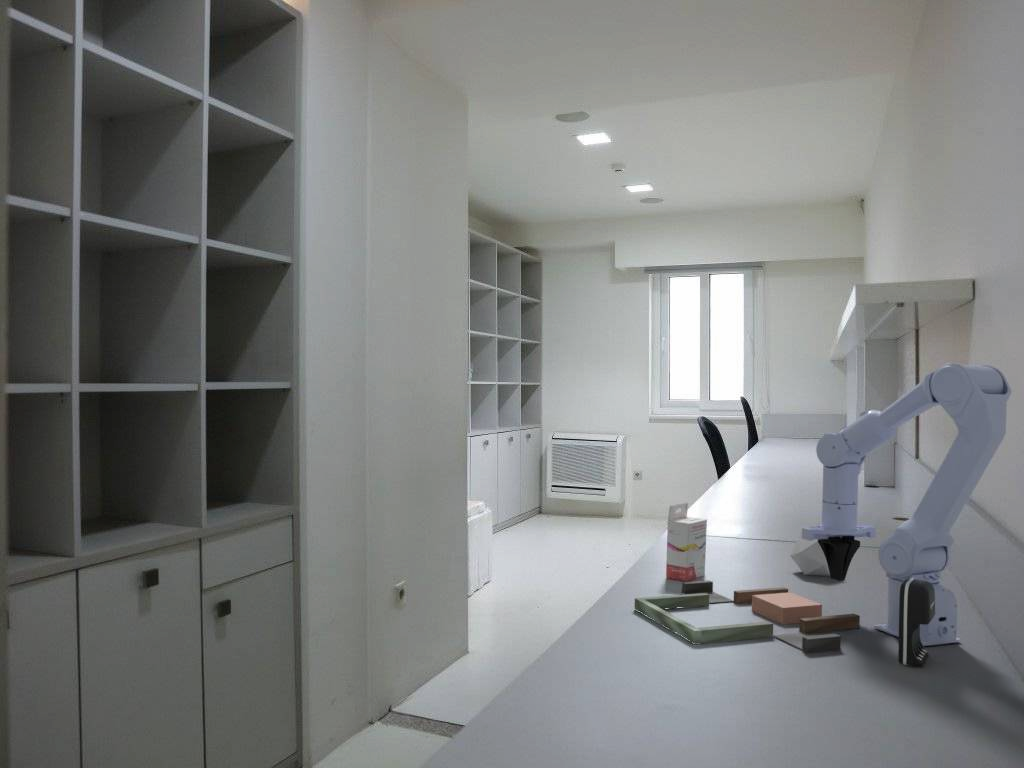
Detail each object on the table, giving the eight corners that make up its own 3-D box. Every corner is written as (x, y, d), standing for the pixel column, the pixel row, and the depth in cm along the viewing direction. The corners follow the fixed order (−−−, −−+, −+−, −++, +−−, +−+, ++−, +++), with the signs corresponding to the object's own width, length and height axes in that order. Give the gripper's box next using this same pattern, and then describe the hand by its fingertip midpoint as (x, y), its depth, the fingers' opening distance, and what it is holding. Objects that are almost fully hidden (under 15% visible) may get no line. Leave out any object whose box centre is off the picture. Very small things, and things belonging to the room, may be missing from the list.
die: (832, 584, 155) (852, 543, 158) (793, 560, 157) (813, 519, 160) (816, 589, 163) (835, 549, 166) (778, 566, 164) (798, 527, 168)
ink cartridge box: (687, 582, 150) (689, 508, 151) (665, 578, 154) (666, 505, 154) (706, 575, 157) (708, 504, 157) (684, 571, 160) (686, 501, 160)
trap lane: (897, 643, 116) (898, 630, 116) (725, 662, 106) (725, 647, 106) (757, 587, 148) (757, 577, 148) (613, 597, 138) (614, 586, 138)
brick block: (821, 622, 127) (822, 604, 127) (782, 626, 125) (783, 607, 125) (789, 609, 135) (789, 592, 135) (751, 612, 132) (752, 595, 132)
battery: (927, 671, 104) (929, 588, 104) (897, 665, 106) (899, 583, 106) (935, 658, 110) (937, 579, 110) (906, 652, 112) (908, 574, 112)
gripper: (855, 498, 140) (853, 571, 140) (790, 499, 135) (788, 576, 135) (885, 503, 133) (883, 581, 133) (818, 505, 128) (816, 586, 128)
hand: (837, 579), depth 133 cm, fingers closed
